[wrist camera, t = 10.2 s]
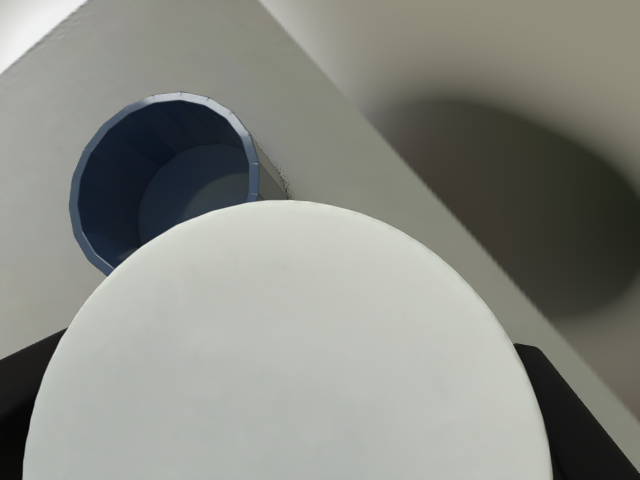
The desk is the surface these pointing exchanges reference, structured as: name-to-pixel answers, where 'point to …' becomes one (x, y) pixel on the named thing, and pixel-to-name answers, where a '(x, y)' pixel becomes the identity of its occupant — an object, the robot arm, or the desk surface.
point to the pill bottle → (285, 361)
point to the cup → (163, 174)
